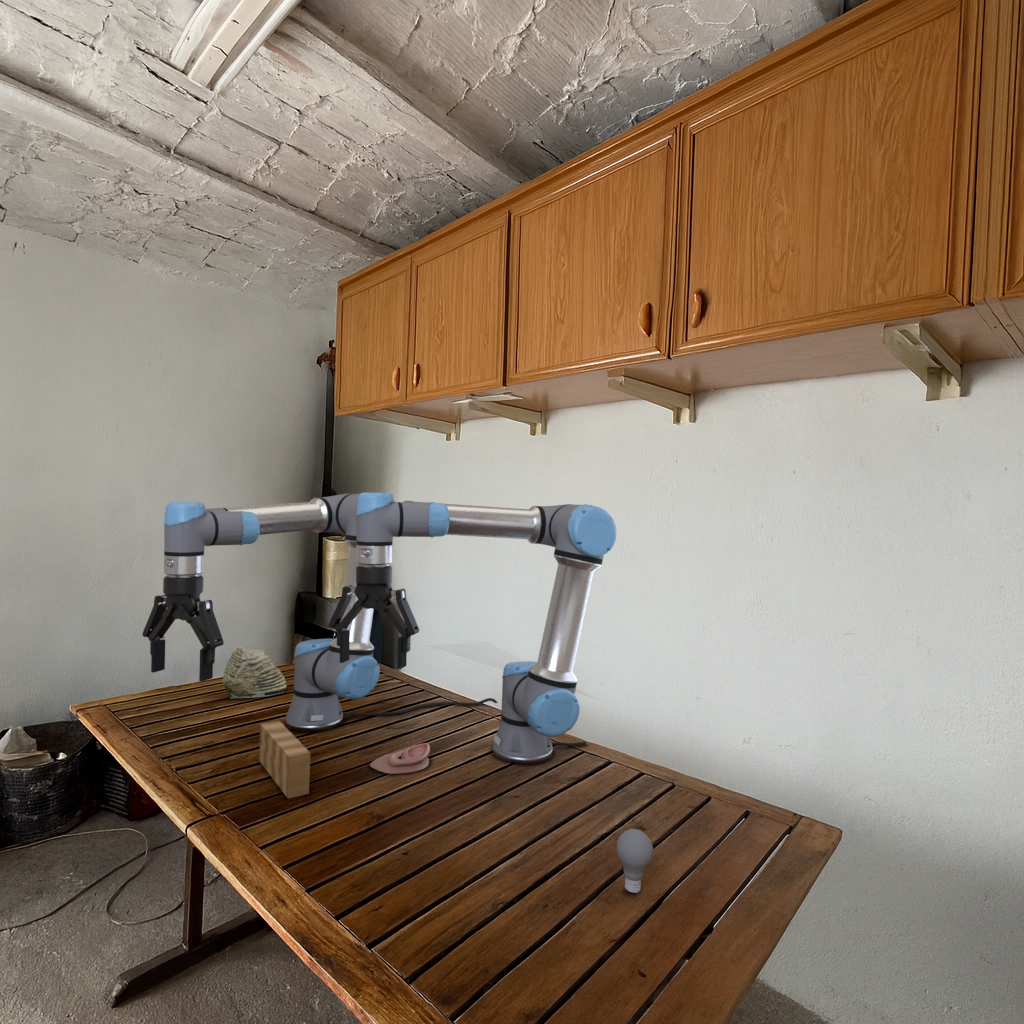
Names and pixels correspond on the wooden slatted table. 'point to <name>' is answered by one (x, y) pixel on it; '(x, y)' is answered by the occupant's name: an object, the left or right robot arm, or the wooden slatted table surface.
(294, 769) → the bar
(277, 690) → the fossil
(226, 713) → the wooden slatted table surface
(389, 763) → the anatomical model
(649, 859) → the light bulb
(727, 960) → the wooden slatted table surface
